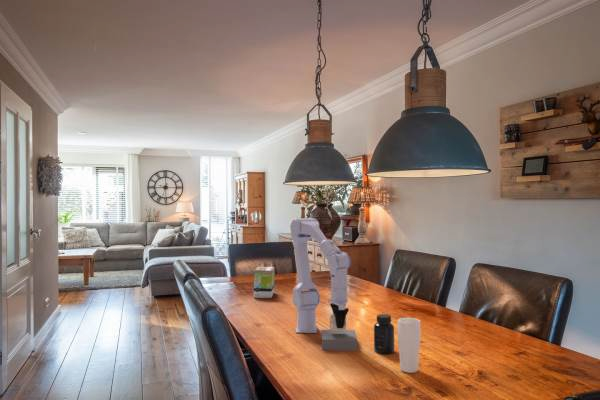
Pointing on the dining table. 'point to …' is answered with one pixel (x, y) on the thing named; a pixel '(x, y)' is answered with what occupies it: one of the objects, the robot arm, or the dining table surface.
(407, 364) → the drinking glass
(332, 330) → the birch block
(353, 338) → the charcoal box
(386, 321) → the supplement bottle
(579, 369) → the dining table surface
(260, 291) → the tea box
